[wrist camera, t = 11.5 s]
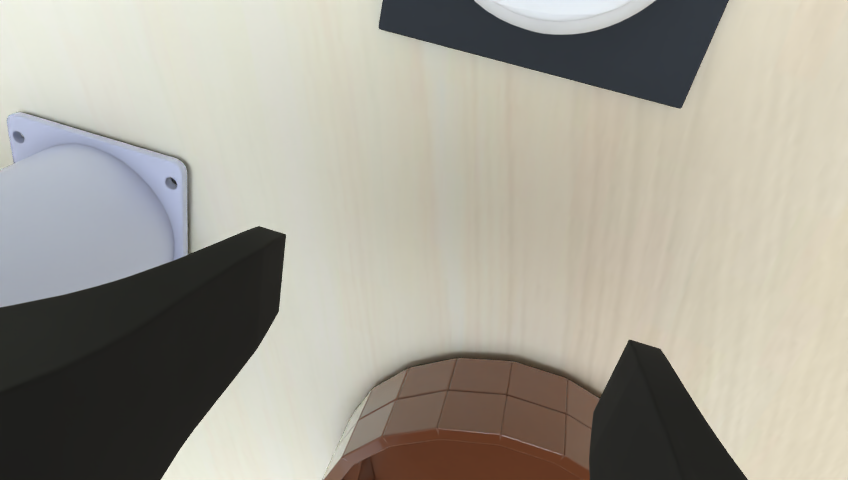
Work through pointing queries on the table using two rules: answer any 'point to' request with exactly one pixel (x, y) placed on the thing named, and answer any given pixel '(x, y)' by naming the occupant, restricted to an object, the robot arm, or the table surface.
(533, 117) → the table surface
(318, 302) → the table surface
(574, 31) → the supplement bottle
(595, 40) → the coaster
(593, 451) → the robot arm
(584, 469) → the glazed bowl
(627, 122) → the table surface
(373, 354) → the table surface
